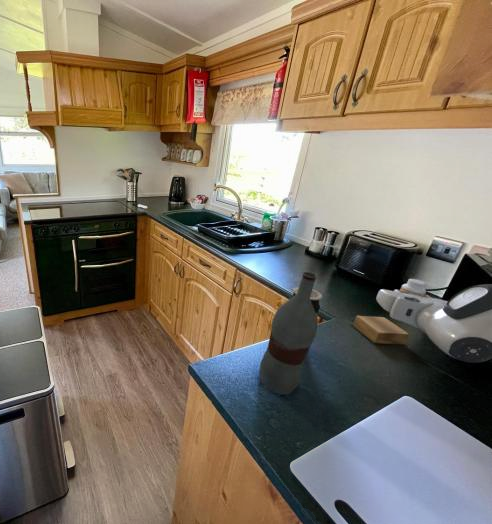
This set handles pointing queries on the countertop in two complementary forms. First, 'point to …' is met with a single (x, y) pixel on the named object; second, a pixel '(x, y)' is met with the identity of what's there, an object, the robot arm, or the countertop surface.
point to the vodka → (290, 340)
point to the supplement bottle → (414, 287)
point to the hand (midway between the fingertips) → (409, 294)
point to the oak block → (380, 330)
